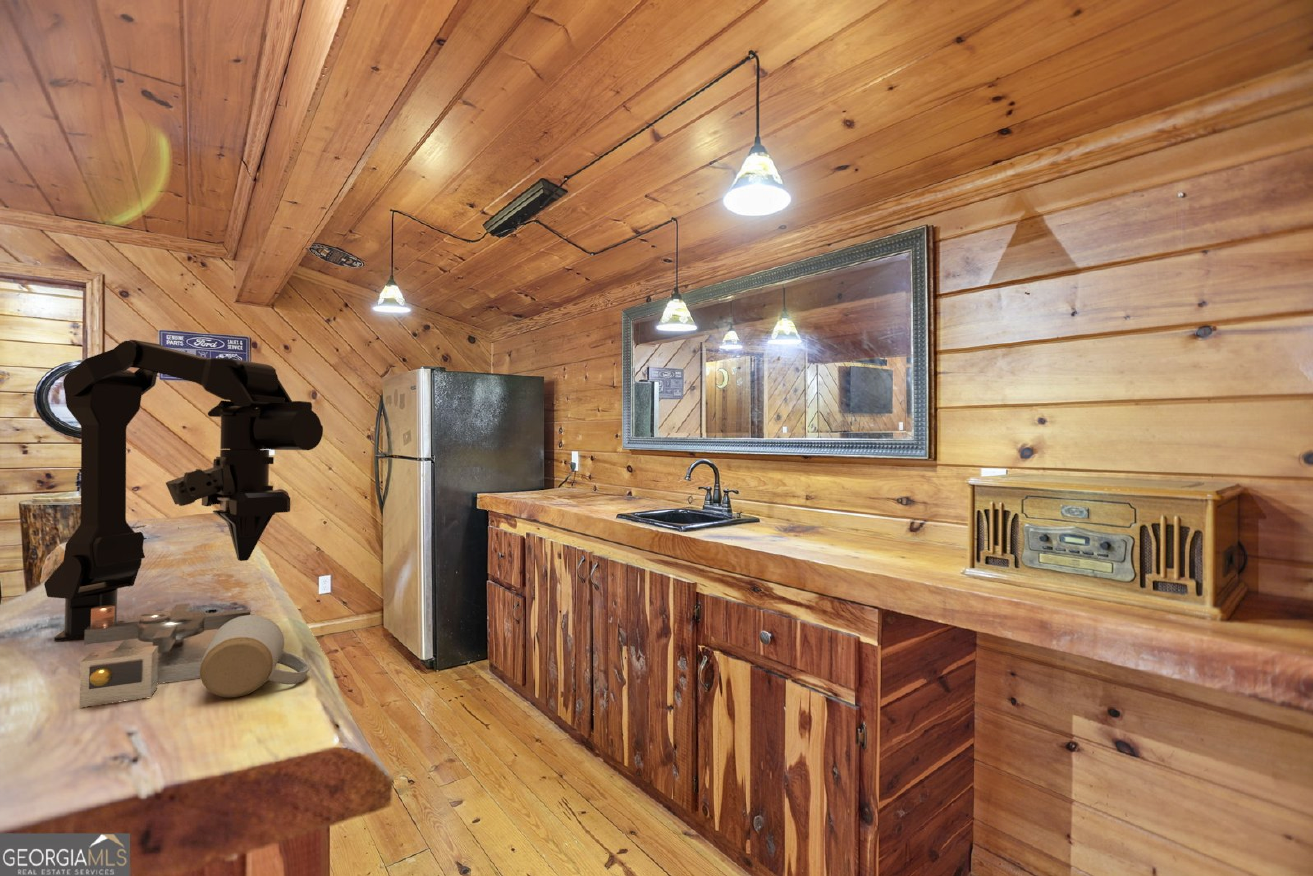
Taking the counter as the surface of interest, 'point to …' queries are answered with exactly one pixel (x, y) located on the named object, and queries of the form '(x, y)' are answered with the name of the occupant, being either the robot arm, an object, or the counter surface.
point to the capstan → (155, 625)
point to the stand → (139, 669)
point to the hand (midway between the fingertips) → (243, 560)
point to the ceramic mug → (248, 658)
